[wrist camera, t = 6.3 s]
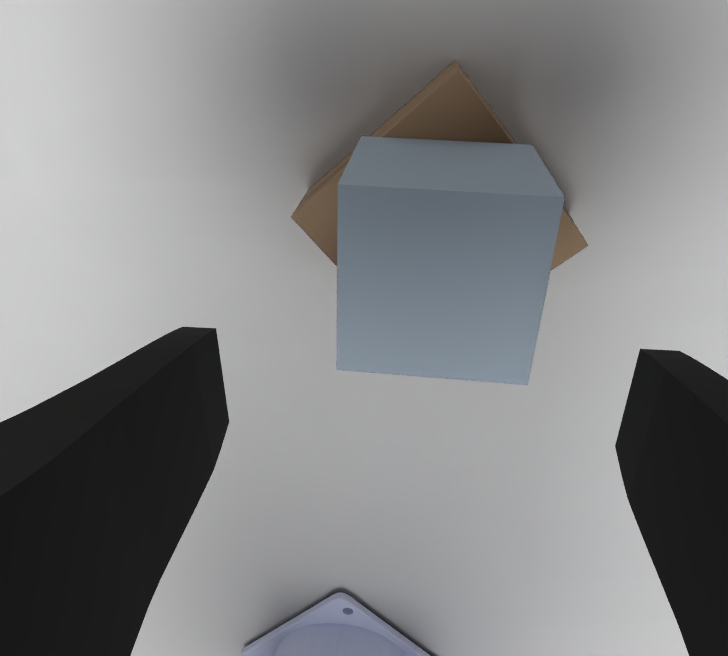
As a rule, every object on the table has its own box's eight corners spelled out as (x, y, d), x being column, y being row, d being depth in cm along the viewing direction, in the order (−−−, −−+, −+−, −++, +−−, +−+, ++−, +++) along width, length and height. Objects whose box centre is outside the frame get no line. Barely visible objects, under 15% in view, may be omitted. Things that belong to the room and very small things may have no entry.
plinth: (567, 211, 19) (588, 245, 17) (422, 313, 22) (421, 356, 19) (454, 59, 18) (458, 70, 15) (309, 188, 20) (290, 217, 17)
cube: (532, 144, 16) (564, 197, 12) (507, 298, 18) (527, 384, 14) (361, 136, 16) (337, 184, 12) (357, 287, 18) (336, 369, 14)
